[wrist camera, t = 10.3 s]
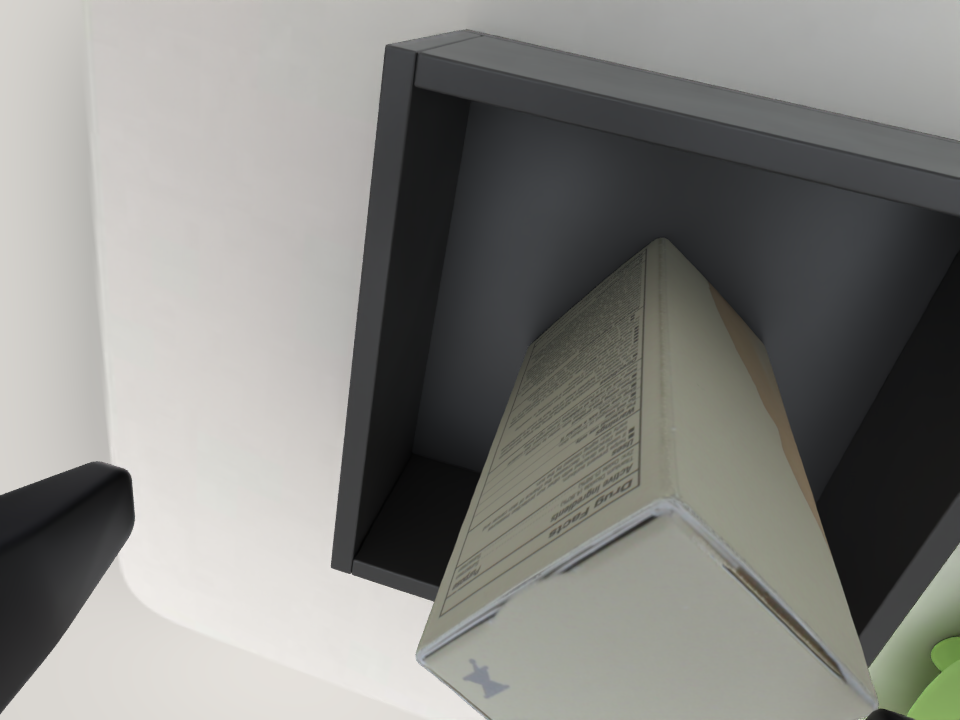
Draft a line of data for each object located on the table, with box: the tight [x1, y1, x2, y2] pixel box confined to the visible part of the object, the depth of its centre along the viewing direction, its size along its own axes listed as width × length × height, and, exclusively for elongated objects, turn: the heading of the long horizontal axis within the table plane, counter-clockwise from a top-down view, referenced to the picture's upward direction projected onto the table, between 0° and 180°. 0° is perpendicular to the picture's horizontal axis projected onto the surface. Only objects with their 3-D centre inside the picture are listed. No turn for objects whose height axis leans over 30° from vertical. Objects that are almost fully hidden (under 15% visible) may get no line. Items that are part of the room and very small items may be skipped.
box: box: [416, 238, 879, 720], centre depth 14 cm, size 5×4×11 cm
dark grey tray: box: [331, 29, 960, 668], centre depth 17 cm, size 13×13×6 cm
